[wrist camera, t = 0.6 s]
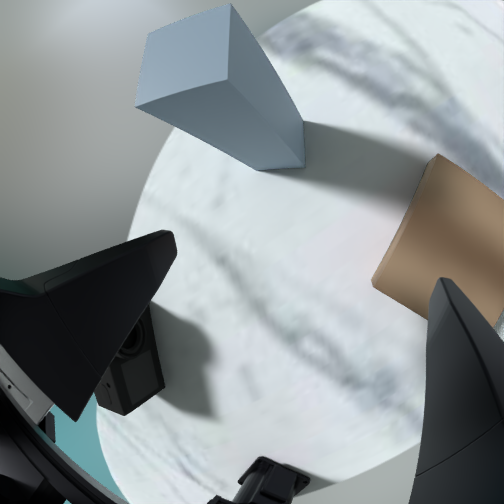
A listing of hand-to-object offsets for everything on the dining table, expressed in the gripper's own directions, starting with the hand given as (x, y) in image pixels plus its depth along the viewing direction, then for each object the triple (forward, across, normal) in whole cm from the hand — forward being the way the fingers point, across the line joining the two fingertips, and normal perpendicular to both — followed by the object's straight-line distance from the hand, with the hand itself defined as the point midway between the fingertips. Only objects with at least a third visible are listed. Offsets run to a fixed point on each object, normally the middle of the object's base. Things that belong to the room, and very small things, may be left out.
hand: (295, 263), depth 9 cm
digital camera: (+5, +17, +18) cm, 25 cm away
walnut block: (+12, -10, +5) cm, 16 cm away
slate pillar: (+15, +5, 0) cm, 16 cm away
